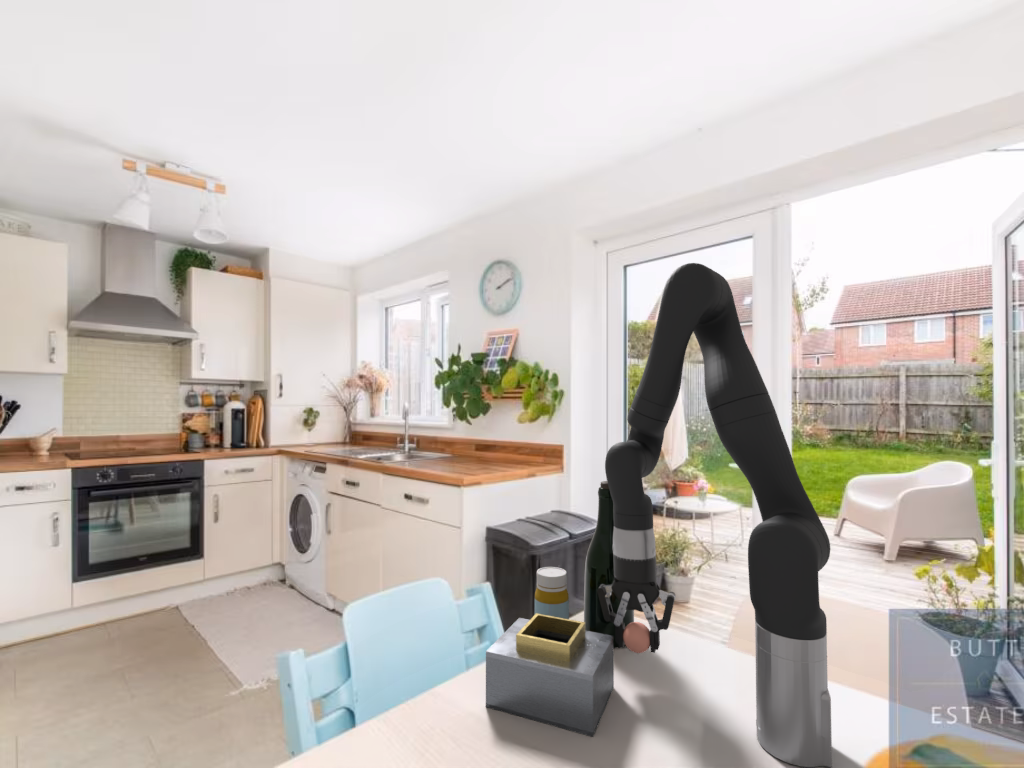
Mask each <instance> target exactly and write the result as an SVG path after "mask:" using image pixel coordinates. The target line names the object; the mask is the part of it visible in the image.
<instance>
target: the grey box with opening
mask: <svg viewBox="0 0 1024 768" xmlns="http://www.w3.org/2000/svg"><path fill="white" fill-rule="evenodd" d="M614 649H615V648H614V647H613V636H612V635H606V634H601V633H596V632H591V631H586V630H585V622H584V621H580V620H576V619H575V620H574V619H570V618H569V619H564V618H559V617H554V616H548V615H543V614H537V613H536V614H535V613H534V615H533V616H532V617H531V618H530V619H527V618H524V617H518V619H516V620H515V621H514V622H513V624H512V625H511V626H509V627H508V629H506V631H504V632H503V633H502V634H501V635H500V636H499V638H497V640H495V641H494V643H492V645H491V646H489V647H488V648H487V650H485V708H487V709H492V710H495V711H499V712H502V713H505V714H509V715H513V716H516V717H520V718H523V719H528V720H530V721H533V722H534V721H535V722H537V723H542V724H546V725H549V726H553V727H556V728H561V729H564V730H567V731H570V732H572V733H573V732H574V733H578V734H582V735H585V736H588V737H593V738H594V736H595V734H596V731H597V728H598V726H599V724H600V721H601V719H602V716H603V714H604V711H605V709H606V707H607V704H608V703H609V700H610V698H611V696H612V693H613V691H614V687H615V686H614V685H615V683H614V682H615V681H614V679H615V678H614V671H615V669H614V668H615V667H614V661H615V660H614V656H615V654H614Z"/></svg>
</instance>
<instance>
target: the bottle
mask: <svg viewBox="0 0 1024 768" xmlns="http://www.w3.org/2000/svg"><path fill="white" fill-rule="evenodd" d="M567 575H568V573H567V570H565V569H564V568H561V567H557V566H543V567H540V568H538V569H537V570H536V589H535V592H534V615H535V614H536V613H537V614H543V615H548V616H554V617H559V618H564V619H570V609H569V607H570V601H569V600H570V597H569V594H570V593H569V592H568V589H567V585H568V584H567V583H568V582H567V581H568V579H567V577H568V576H567Z"/></svg>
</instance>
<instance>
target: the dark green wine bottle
mask: <svg viewBox="0 0 1024 768" xmlns="http://www.w3.org/2000/svg"><path fill="white" fill-rule="evenodd" d="M599 485H600V487H598V490H597V496H598V506H597V509H598V510H597V520H596V527H595V530H594V533H593V535H592V538H591V541H590V543H589V545H588V546H589V547H588V549H587V551H586V552H587V553H586V558H585V564H584V565H585V566H584V588H583V589H584V590H583V593H584V596H583V602H584V603H583V622H585V630H586V631H591V632H596V633H601V634H606V635H612V636H613V647H614V649H621V647H619V644H618V643H616V640H615V625H614V624H613V623H612V622H610V621H608V622H607V621H605V619H604V616H603V612H602V608H601V604H600V600H599V596H598V592H597V590H598V588H599V587H600V585H601V584H605V585H611V584H612V583H613V581H614V563H613V548H612V545H613V532H614V518H613V500H612V497H611V494H610V490H609V486H608V482H607V480H603V481H601V482H600V483H599ZM609 598H610V602H611V606H612V609H613V612H614V613H616V614H617V611H618V608H619V605H620V601H619V600H618V598H617V597H616V595H615V594H614V592H613V591H611V596H610V597H609ZM632 622H635V610H626V612H625V615H624V618H623V623H625V627H626V626H627V625H628V624H630V623H632ZM625 647H627V646H626V645H624V647H623V648H625Z"/></svg>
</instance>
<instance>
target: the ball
mask: <svg viewBox="0 0 1024 768" xmlns="http://www.w3.org/2000/svg"><path fill="white" fill-rule="evenodd" d="M623 640H624V643H625V645H626V646H625V647H626V648H627V649H628V650H629V651H631V652H632V653H635V654H642V653H645V652H646V651H648V650H649V649H650V629H649V628H648V626H646V624H645V623H642V622H640V621H634V622H632V623H630V624H628V625H627V626H626V627H625V629H624V632H623Z"/></svg>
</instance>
